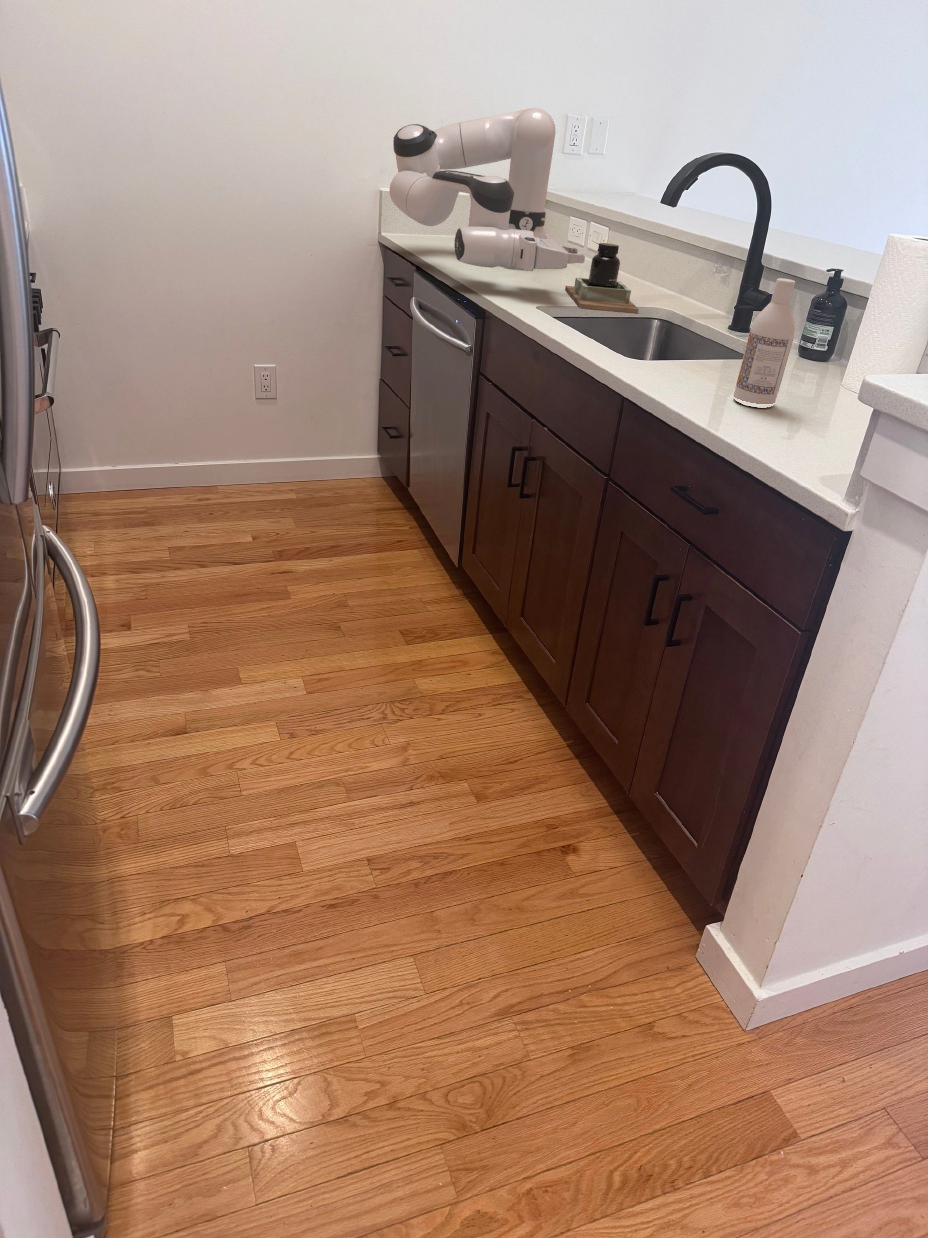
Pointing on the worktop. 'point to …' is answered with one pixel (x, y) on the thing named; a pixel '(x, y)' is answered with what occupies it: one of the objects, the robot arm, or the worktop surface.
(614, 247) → the supplement bottle
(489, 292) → the worktop surface
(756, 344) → the bath foam
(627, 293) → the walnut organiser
